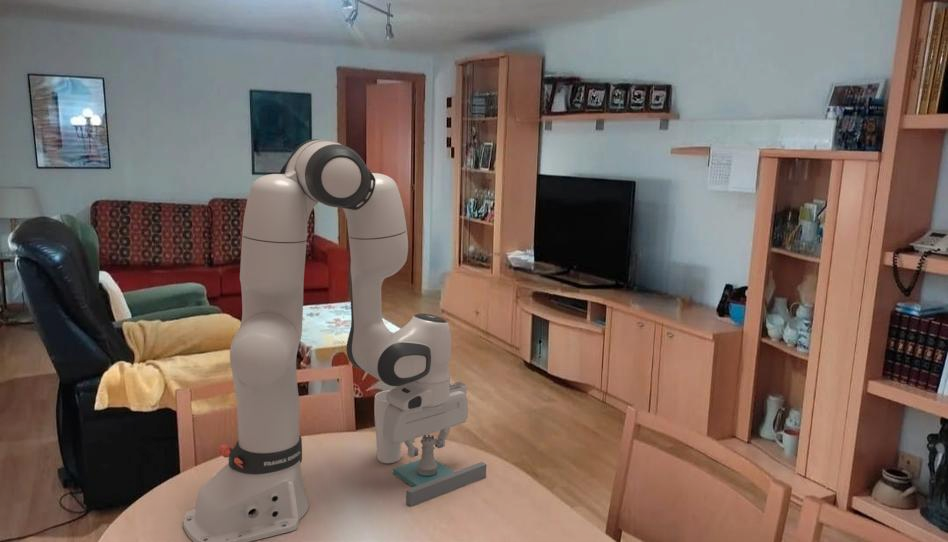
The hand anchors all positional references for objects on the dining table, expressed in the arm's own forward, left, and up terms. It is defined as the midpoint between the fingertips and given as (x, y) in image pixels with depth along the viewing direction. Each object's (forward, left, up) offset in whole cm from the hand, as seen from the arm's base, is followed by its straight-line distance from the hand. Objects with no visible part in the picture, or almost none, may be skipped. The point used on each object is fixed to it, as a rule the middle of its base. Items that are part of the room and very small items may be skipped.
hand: (426, 451), depth 148 cm
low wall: (0, -7, -6) cm, 9 cm away
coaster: (0, 0, -6) cm, 6 cm away
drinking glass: (-2, +11, -6) cm, 13 cm away
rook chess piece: (0, 0, -5) cm, 5 cm away
